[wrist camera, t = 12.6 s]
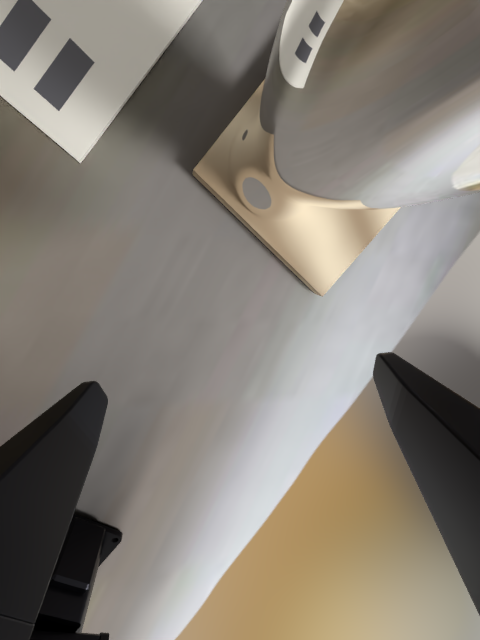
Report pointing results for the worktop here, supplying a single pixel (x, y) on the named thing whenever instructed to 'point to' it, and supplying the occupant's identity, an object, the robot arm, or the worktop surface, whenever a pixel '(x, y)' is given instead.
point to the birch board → (293, 218)
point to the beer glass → (364, 108)
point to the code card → (81, 60)
